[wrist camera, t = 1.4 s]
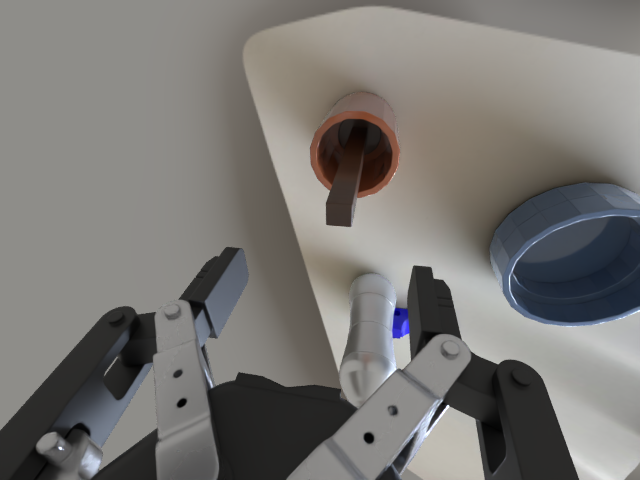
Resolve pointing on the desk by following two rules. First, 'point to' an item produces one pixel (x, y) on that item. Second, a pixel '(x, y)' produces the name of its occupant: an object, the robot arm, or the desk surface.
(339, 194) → the disc-ended square rod
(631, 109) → the desk surface
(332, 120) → the crock
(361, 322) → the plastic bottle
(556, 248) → the bowl
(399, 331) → the cable holder
